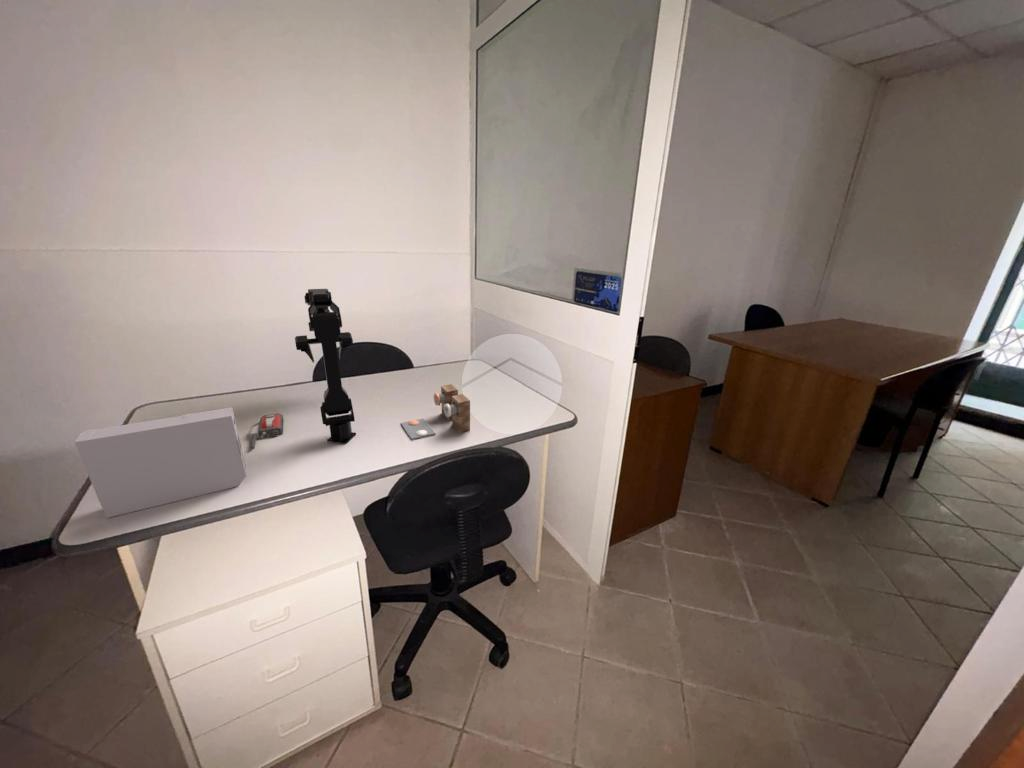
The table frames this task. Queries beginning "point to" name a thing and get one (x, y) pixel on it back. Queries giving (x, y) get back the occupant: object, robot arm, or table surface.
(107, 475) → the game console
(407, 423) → the card
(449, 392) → the post
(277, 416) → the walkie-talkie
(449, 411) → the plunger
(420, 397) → the table surface
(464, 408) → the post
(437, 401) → the plunger
